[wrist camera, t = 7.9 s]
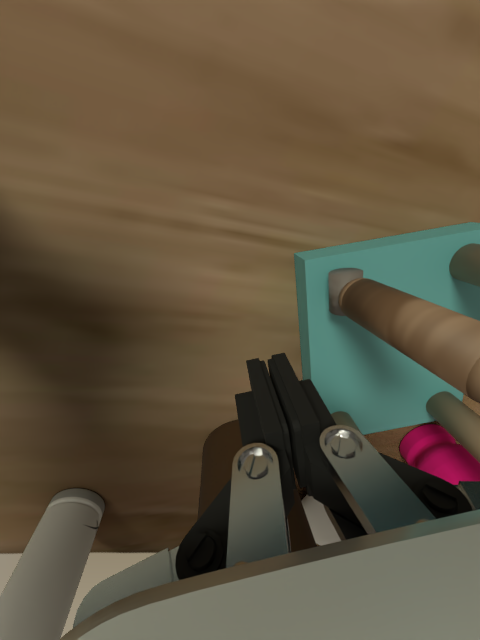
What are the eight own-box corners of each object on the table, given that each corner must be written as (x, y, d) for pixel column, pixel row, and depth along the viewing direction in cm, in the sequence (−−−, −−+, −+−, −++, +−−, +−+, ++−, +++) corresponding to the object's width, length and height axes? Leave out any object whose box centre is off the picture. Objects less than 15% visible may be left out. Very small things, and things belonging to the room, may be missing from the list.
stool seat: (294, 253, 24) (449, 355, 8) (470, 222, 24) (934, 264, 9) (306, 423, 32) (395, 634, 17) (437, 398, 33) (645, 580, 17)
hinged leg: (318, 272, 21) (520, 369, 9) (354, 265, 21) (596, 347, 9) (320, 308, 22) (498, 437, 10) (353, 300, 23) (565, 415, 10)
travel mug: (116, 496, 34) (8, 838, 16) (90, 525, 36) (-36, 863, 18) (67, 478, 32) (-121, 846, 14) (42, 509, 34) (-156, 873, 16)
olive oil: (248, 397, 30) (369, 1037, 7) (302, 447, 34) (492, 962, 11) (178, 449, 32) (97, 1073, 9) (237, 490, 36) (282, 999, 13)
